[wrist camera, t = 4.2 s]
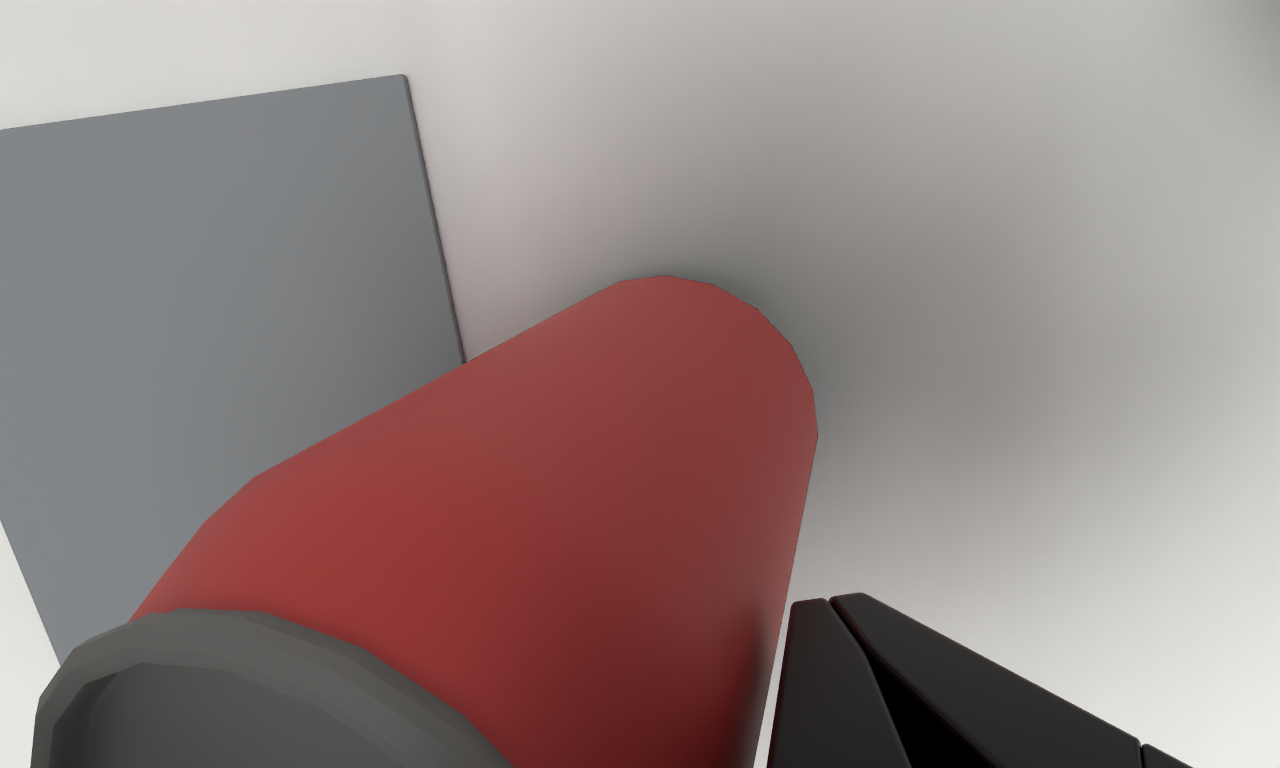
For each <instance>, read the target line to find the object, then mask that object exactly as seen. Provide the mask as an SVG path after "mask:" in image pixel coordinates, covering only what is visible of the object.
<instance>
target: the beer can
mask: <svg viewBox="0 0 1280 768" xmlns="http://www.w3.org/2000/svg"><path fill="white" fill-rule="evenodd" d="M817 439H818V433H817V424H816V415H815V406H814V397H813V389H812V387H811V385H810V383H809V381H808V379H807V377H806V375H805V373H804V370H803V368H802V366H801V364H800V362H799V360H798V358H797V356H796V354H795V351H794V349H793V347H792V345H791V344H790V343H789V342H788V341H787V340H786V339H785V338H784V337H783V336H782V335H781V334H780V333H779V332H778V331H777V330H776V328H775V327H774V326H773V325H772V324H771V323H770V322H769V321H768V320H767V319H766V318H765V317H764V316H763V315H762V314H761V313H760V312H759V310H758V309H756V308H754V307H753V306H751V305H749V304H747V303H745V302H743V301H742V300H740V299H738V298H736V297H734V296H733V295H731V294H729V293H727V292H725V291H724V290H722V289H720V288H718V287H716V286H715V285H712V284H707V283H702V282H697V281H692V280H686V279H681V278H676V277H671V276H666V275H664V276H657V277H649V278H642V279H634V280H626V281H619V282H617V283H615V284H613V285H612V286H610V287H608V288H606V289H604V290H602V291H600V292H598V293H596V294H594V295H592V296H590V297H588V298H586V299H584V300H582V301H580V302H578V303H576V304H575V305H573V306H571V307H569V308H567V309H565V310H563V311H561V312H560V313H558V314H556V315H554V316H552V317H550V318H548V319H547V320H545V321H543V322H541V323H539V324H537V325H535V326H534V327H532V328H530V329H528V330H526V331H524V332H522V333H521V334H519V335H517V336H515V337H513V338H511V339H509V340H508V341H506V342H504V343H502V344H500V345H498V346H496V347H495V348H493V349H491V350H489V351H487V352H485V353H483V354H482V355H480V356H478V357H476V358H474V359H472V360H470V361H469V362H467V363H465V364H463V365H461V366H459V367H457V368H456V369H454V370H452V371H450V372H448V373H446V374H444V375H443V376H441V377H439V378H437V379H435V380H433V381H431V382H430V383H428V384H426V385H424V386H422V387H420V388H418V389H417V390H415V391H413V392H411V393H409V394H407V395H405V396H404V397H402V398H400V399H398V400H396V401H394V402H392V403H391V404H389V405H387V406H385V407H383V408H381V409H379V410H377V411H376V412H374V413H372V414H370V415H368V416H366V417H364V418H363V419H361V420H359V421H357V422H355V423H353V424H351V425H350V426H348V427H346V428H344V429H342V430H340V431H338V432H337V433H335V434H333V435H331V436H329V437H327V438H325V439H324V440H322V441H320V442H318V443H316V444H314V445H312V446H311V447H309V448H307V449H305V450H303V451H301V452H299V453H298V454H296V455H294V456H292V457H290V458H288V459H286V460H285V461H283V462H281V463H279V464H277V465H275V466H273V467H272V468H270V469H268V470H266V471H264V472H262V473H260V474H259V475H257V476H255V477H253V478H252V479H251V480H250V481H249V482H248V483H247V484H246V485H245V486H243V487H242V488H241V489H240V490H239V491H238V492H237V493H236V494H235V495H234V496H232V497H231V498H230V499H229V500H228V501H227V502H226V503H225V504H224V505H223V506H221V507H220V508H219V509H218V510H217V511H216V512H215V513H214V514H213V515H212V516H210V517H209V518H208V519H207V520H206V521H205V522H204V523H203V525H202V526H201V527H200V528H199V530H198V531H197V532H196V534H195V535H194V536H193V537H192V539H191V540H190V541H189V542H188V544H187V545H186V546H185V547H184V549H183V550H182V551H181V553H180V554H179V555H178V556H177V558H176V559H175V560H174V561H173V563H172V564H171V565H170V566H169V568H168V569H167V570H166V572H165V573H164V574H163V575H162V577H161V578H160V579H159V581H158V582H157V584H156V585H155V586H154V588H153V589H152V590H151V592H150V593H149V594H148V596H147V597H146V598H145V600H144V601H143V602H142V604H141V605H140V606H139V608H138V609H137V610H136V612H135V613H134V614H133V616H132V617H131V618H130V620H129V621H128V622H127V623H126V624H123V625H121V626H118V627H116V628H114V629H111V630H109V631H106V632H104V633H101V634H99V635H97V636H94V637H92V638H90V639H88V640H86V641H85V642H83V643H82V644H80V645H79V646H77V647H75V648H74V649H73V650H72V651H71V653H70V654H69V656H68V657H67V658H66V660H65V661H64V663H63V664H62V666H61V667H60V669H59V670H58V671H57V673H56V674H55V676H54V677H53V679H52V680H51V682H50V683H49V684H48V686H47V687H46V689H45V690H44V692H43V693H42V695H41V696H40V698H39V703H38V707H37V712H36V716H35V727H34V737H33V747H32V757H31V767H30V768H753V766H754V761H755V756H756V750H757V745H758V740H759V735H760V730H761V725H762V720H763V715H764V710H765V704H766V699H767V694H768V689H769V684H770V679H771V674H772V669H773V663H774V658H775V653H776V648H777V643H778V638H779V633H780V628H781V623H782V617H783V612H784V607H785V602H786V597H787V592H788V587H789V582H790V577H791V571H792V566H793V561H794V556H795V551H796V546H797V541H798V536H799V531H800V525H801V520H802V515H803V510H804V505H805V500H806V495H807V490H808V485H809V479H810V474H811V469H812V464H813V459H814V454H815V449H816V444H817Z"/></svg>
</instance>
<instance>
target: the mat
mask: <svg viewBox="0 0 1280 768" xmlns="http://www.w3.org/2000/svg"><path fill="white" fill-rule="evenodd" d="M463 364H465V362H464V357H463V352H462V347H461V342H460V337H459V332H458V328H457V323H456V318H455V313H454V308H453V303H452V298H451V293H450V288H449V284H448V279H447V274H446V269H445V264H444V259H443V254H442V249H441V244H440V240H439V235H438V230H437V225H436V220H435V215H434V210H433V205H432V200H431V195H430V191H429V186H428V181H427V176H426V171H425V166H424V161H423V156H422V151H421V147H420V142H419V137H418V132H417V127H416V122H415V117H414V112H413V107H412V103H411V98H410V93H409V88H408V83H407V78H406V76H405V75H403V74H399V75H392V76H385V77H378V78H370V79H363V80H356V81H349V82H342V83H334V84H327V85H320V86H313V87H305V88H298V89H291V90H284V91H277V92H269V93H262V94H255V95H248V96H241V97H233V98H226V99H219V100H212V101H205V102H197V103H190V104H183V105H176V106H169V107H161V108H154V109H147V110H140V111H132V112H125V113H118V114H111V115H104V116H96V117H89V118H82V119H75V120H68V121H60V122H53V123H46V124H39V125H32V126H24V127H17V128H10V129H3V130H0V520H1V523H2V525H3V528H4V530H5V533H6V535H7V537H8V540H9V542H10V545H11V547H12V550H13V552H14V554H15V557H16V559H17V562H18V564H19V567H20V569H21V571H22V574H23V576H24V579H25V581H26V584H27V586H28V588H29V591H30V593H31V596H32V598H33V601H34V603H35V605H36V608H37V610H38V613H39V615H40V618H41V620H42V622H43V625H44V627H45V630H46V632H47V635H48V637H49V639H50V642H51V644H52V647H53V649H54V652H55V654H56V656H57V659H58V661H59V664H60V666H62V664H63V663H64V661H65V660H66V658H67V657H68V656H69V654H70V653H71V651H72V650H73V649H74V648H75V647H77V646H79V645H80V644H82V643H83V642H85V641H86V640H88V639H90V638H92V637H94V636H97V635H99V634H101V633H104V632H106V631H109V630H111V629H114V628H116V627H118V626H121V625H123V624H126V623H127V622H128V621H129V620H130V618H131V617H132V616H133V614H134V613H135V612H136V610H137V609H138V608H139V606H140V605H141V604H142V602H143V601H144V600H145V598H146V597H147V596H148V594H149V593H150V592H151V590H152V589H153V588H154V586H155V585H156V584H157V582H158V581H159V579H160V578H161V577H162V575H163V574H164V573H165V572H166V570H167V569H168V568H169V566H170V565H171V564H172V563H173V561H174V560H175V559H176V558H177V556H178V555H179V554H180V553H181V551H182V550H183V549H184V547H185V546H186V545H187V544H188V542H189V541H190V540H191V539H192V537H193V536H194V535H195V534H196V532H197V531H198V530H199V528H200V527H201V526H202V525H203V523H204V522H205V521H206V520H207V519H208V518H209V517H210V516H212V515H213V514H214V513H215V512H216V511H217V510H218V509H219V508H220V507H221V506H223V505H224V504H225V503H226V502H227V501H228V500H229V499H230V498H231V497H232V496H234V495H235V494H236V493H237V492H238V491H239V490H240V489H241V488H242V487H243V486H245V485H246V484H247V483H248V482H249V481H250V480H251V479H252V478H253V477H255V476H257V475H259V474H260V473H262V472H264V471H266V470H268V469H270V468H272V467H273V466H275V465H277V464H279V463H281V462H283V461H285V460H286V459H288V458H290V457H292V456H294V455H296V454H298V453H299V452H301V451H303V450H305V449H307V448H309V447H311V446H312V445H314V444H316V443H318V442H320V441H322V440H324V439H325V438H327V437H329V436H331V435H333V434H335V433H337V432H338V431H340V430H342V429H344V428H346V427H348V426H350V425H351V424H353V423H355V422H357V421H359V420H361V419H363V418H364V417H366V416H368V415H370V414H372V413H374V412H376V411H377V410H379V409H381V408H383V407H385V406H387V405H389V404H391V403H392V402H394V401H396V400H398V399H400V398H402V397H404V396H405V395H407V394H409V393H411V392H413V391H415V390H417V389H418V388H420V387H422V386H424V385H426V384H428V383H430V382H431V381H433V380H435V379H437V378H439V377H441V376H443V375H444V374H446V373H448V372H450V371H452V370H454V369H456V368H457V367H459V366H461V365H463Z"/></svg>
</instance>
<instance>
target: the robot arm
mask: <svg viewBox="0 0 1280 768" xmlns="http://www.w3.org/2000/svg"><path fill="white" fill-rule="evenodd" d="M766 768H1193V767H1191V766H1189V765H1187V764H1185V763H1183V762H1181V761H1179V760H1178V759H1176V758H1174V757H1172V756H1170V755H1168V754H1166V753H1164V752H1163V751H1161V750H1159V749H1157V748H1155V747H1153V746H1151V745H1149V744H1143V745H1142V747H1141V743H1140V741H1139V740H1138V739H1137V738H1136V737H1134V736H1132V735H1130V734H1128V733H1126V732H1124V731H1123V730H1121V729H1119V728H1117V727H1115V726H1113V725H1111V724H1109V723H1107V722H1106V721H1104V720H1102V719H1100V718H1098V717H1096V716H1094V715H1092V714H1091V713H1089V712H1087V711H1085V710H1083V709H1081V708H1079V707H1077V706H1076V705H1074V704H1072V703H1070V702H1068V701H1066V700H1064V699H1062V698H1061V697H1059V696H1057V695H1055V694H1053V693H1051V692H1049V691H1047V690H1045V689H1044V688H1042V687H1040V686H1038V685H1036V684H1034V683H1032V682H1030V681H1029V680H1027V679H1025V678H1023V677H1021V676H1019V675H1017V674H1015V673H1014V672H1012V671H1010V670H1008V669H1006V668H1004V667H1002V666H1000V665H999V664H997V663H995V662H993V661H991V660H989V659H987V658H985V657H983V656H982V655H980V654H978V653H976V652H974V651H972V650H970V649H968V648H967V647H965V646H963V645H961V644H959V643H957V642H955V641H953V640H952V639H950V638H948V637H946V636H944V635H942V634H940V633H938V632H937V631H935V630H933V629H931V628H929V627H927V626H925V625H923V624H921V623H920V622H918V621H916V620H914V619H912V618H910V617H908V616H906V615H905V614H903V613H901V612H899V611H897V610H895V609H893V608H891V607H890V606H888V605H886V604H884V603H882V602H880V601H878V600H876V599H875V598H873V597H871V596H869V595H867V594H864V593H852V594H845V595H839V596H833V597H831V598H830V599H829V601H827V600H826V599H824V598H818V599H811V600H804V601H797V602H794V603H793V604H792V606H791V610H790V617H789V623H788V630H787V636H786V643H785V649H784V656H783V663H782V669H781V676H780V682H779V689H778V695H777V702H776V708H775V715H774V721H773V728H772V734H771V741H770V748H769V754H768V761H767V767H766Z"/></svg>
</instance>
